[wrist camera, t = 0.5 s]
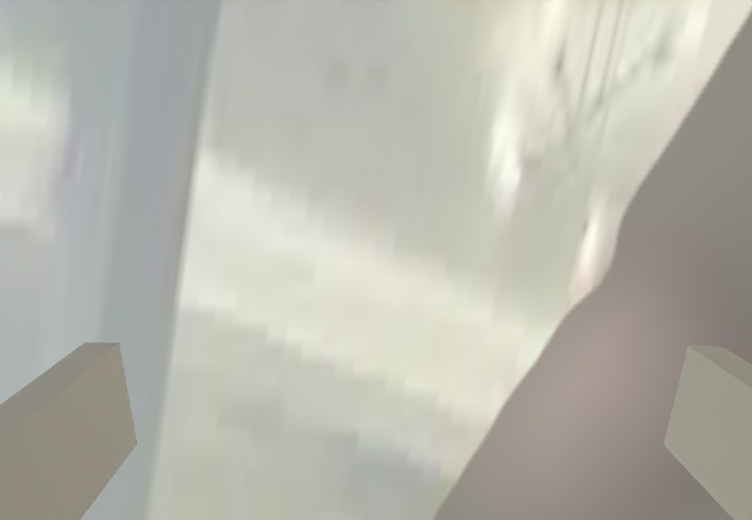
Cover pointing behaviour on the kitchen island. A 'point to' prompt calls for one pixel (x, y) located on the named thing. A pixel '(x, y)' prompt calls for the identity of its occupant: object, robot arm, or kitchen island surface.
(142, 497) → the kitchen island surface
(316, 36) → the kitchen island surface
